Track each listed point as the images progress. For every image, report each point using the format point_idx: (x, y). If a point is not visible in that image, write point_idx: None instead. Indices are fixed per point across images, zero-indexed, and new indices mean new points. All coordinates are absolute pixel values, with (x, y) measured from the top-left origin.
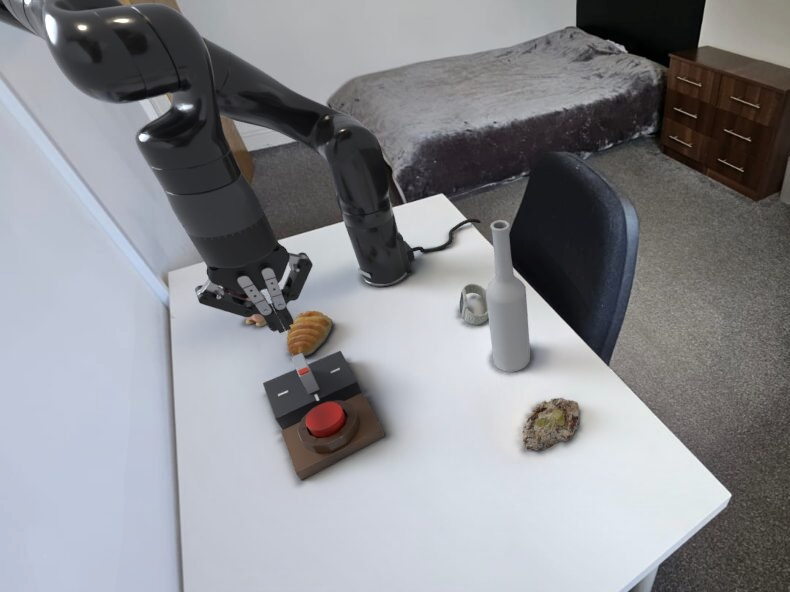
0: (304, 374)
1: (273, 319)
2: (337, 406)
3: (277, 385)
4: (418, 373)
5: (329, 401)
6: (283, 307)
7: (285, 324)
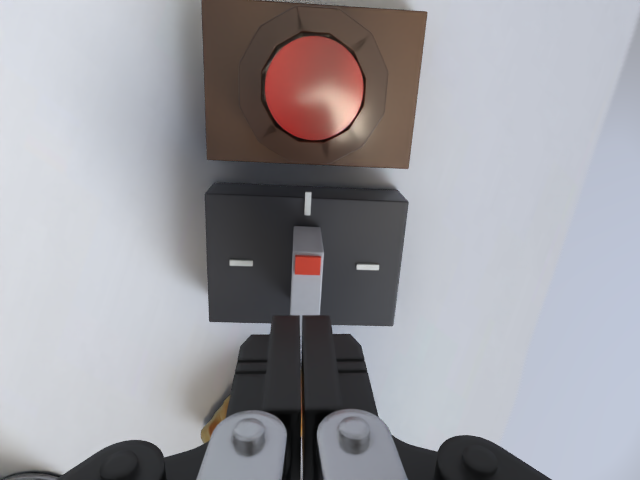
0: (309, 253)
1: (330, 375)
2: (272, 98)
3: (369, 299)
4: (64, 152)
5: (286, 158)
6: (239, 419)
7: (285, 335)
